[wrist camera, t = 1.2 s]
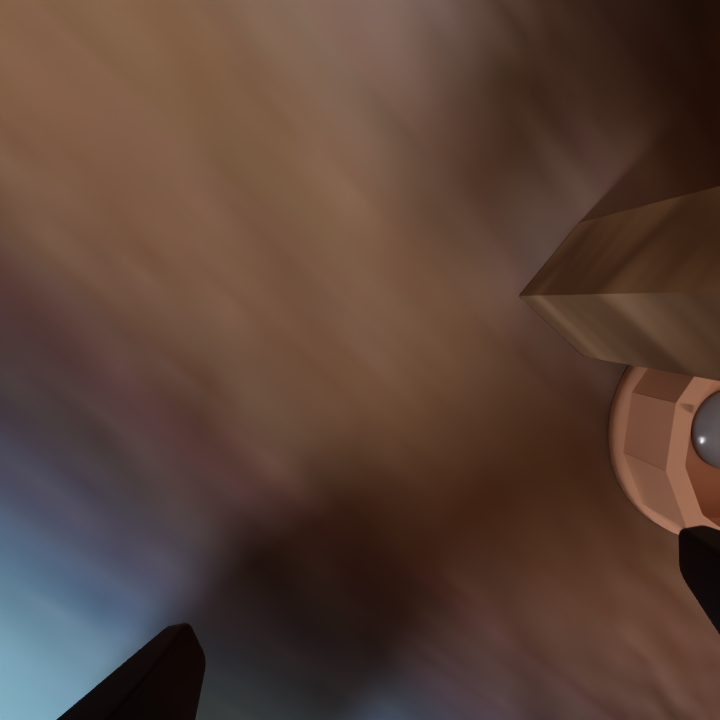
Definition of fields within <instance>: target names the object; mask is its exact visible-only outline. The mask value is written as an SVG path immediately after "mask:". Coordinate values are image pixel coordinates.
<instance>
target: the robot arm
mask: <svg viewBox="0 0 720 720" xmlns="http://www.w3.org/2000/svg"><path fill="white" fill-rule="evenodd" d="M679 566H680V571H681V573H682V576H683V578H684V580H685V582H686V584H687V585H688V587H689V588H690V590H691V591H692V593H693V594H694V596H695V597H696V599H697V600H698V602H699V604H700V605H701V607H702V608H703V610H704V611H705V613H706V614H707V616H708V617H709V619H710V620H711V622H712V624H713V625H714V627H715V628H716V630H717V631H718V633H719V634H720V530H718V529H715V528H712V527H709V526H705V525H699V526H693V527H688V528H683V529H682V530H681V531H680V532H679ZM204 672H205V655H204V652H203V650H202V648H201V646H200V644H199V641H198V639H197V637H196V635H195V633H194V631H193V629H192V627H191V626H190V625H189V624H187V623H183V624H177V625H172V626H168V627H167V628H165V629H164V630H163V631H161V632H160V633H159V634H158V635H157V636H155V637H154V638H153V639H152V640H151V641H149V642H148V643H147V644H146V645H145V646H144V647H142V648H141V649H140V650H139V651H138V652H136V653H135V654H134V655H133V656H132V657H130V658H129V659H128V660H127V661H126V662H125V663H123V664H122V665H121V666H120V667H119V668H117V669H116V670H115V671H114V672H113V673H111V674H110V675H109V676H108V677H107V678H105V679H104V680H103V681H102V682H101V683H100V684H98V685H97V686H96V687H95V688H94V689H92V690H91V691H90V692H89V693H88V694H86V695H85V696H84V697H83V698H82V699H81V700H79V701H78V702H77V703H76V704H75V705H73V706H72V707H71V708H70V709H69V710H67V711H66V712H65V713H64V714H63V715H61V716H60V717H59V718H58V719H57V720H195V718H196V713H197V708H198V703H199V698H200V692H201V687H202V682H203V677H204Z"/></svg>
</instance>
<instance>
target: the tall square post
mask: <svg viewBox="0 0 720 720" xmlns="http://www.w3.org/2000/svg"><path fill="white" fill-rule="evenodd" d="M519 297H520V298H521V299H523V300H524V301H525V302H526V303H527V304H528V305H529V306H530V307H531V308H532V309H533V310H534V311H535V312H536V313H537V314H538V315H540V316H541V317H542V318H543V319H544V320H545V321H546V322H547V323H548V324H549V325H550V326H551V327H552V328H553V329H554V330H556V331H557V332H558V333H559V334H560V335H561V336H562V337H563V338H564V339H565V340H566V341H567V342H568V343H569V344H570V345H571V346H573V347H574V348H575V349H576V350H577V351H578V352H579V353H580V354H581V355H582V356H583V357H588V358H594V359H599V360H605V361H610V362H616V363H622V364H627V365H633V366H638V367H644V368H649V369H655V370H661V371H666V372H672V373H677V374H683V375H689V376H694V377H700V378H705V379H711V380H716V381H720V186H718V187H714V188H710V189H706V190H702V191H698V192H695V193H691V194H687V195H683V196H679V197H675V198H671V199H667V200H664V201H660V202H656V203H652V204H648V205H644V206H640V207H637V208H633V209H629V210H625V211H621V212H617V213H613V214H610V215H606V216H602V217H598V218H594V219H590V220H586V221H582V222H579V223H578V225H577V226H576V227H575V228H574V230H573V231H572V232H571V233H570V234H569V236H568V237H567V238H566V239H565V240H564V242H563V243H562V244H561V245H560V247H559V248H558V249H557V250H556V251H555V253H554V254H553V255H552V256H551V257H550V259H549V260H548V261H547V262H546V263H545V265H544V266H543V267H542V268H541V270H540V271H539V272H538V273H537V274H536V276H535V277H534V278H533V279H532V280H531V282H530V283H529V284H528V285H527V287H526V288H525V289H524V290H523V291H522V293H521V294H520V295H519Z"/></svg>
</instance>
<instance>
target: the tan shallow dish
mask: <svg viewBox="0 0 720 720" xmlns="http://www.w3.org/2000/svg"><path fill="white" fill-rule="evenodd" d="M608 444H609V453H610V458H611V463H612V467H613V470H614V473H615V476H616V478H617V480H618V482H619V485H620V487H621V489H622V490H623V492H624V493H625V495H626V496H627V498H628V499H629V501H630V502H631V503H632V504H633V505H634V506H635V507H636V509H637V510H639V511H640V512H641V513H642V514H643V515H644V516H646V517H647V518H648V519H650V520H652V521H653V522H655V523H657V524H658V525H660V526H662V527H663V528H665V529H667V530H669V531H670V532H672V533H675V534H677V535H679V532H680V531H681V530H682V529H683V528H688V527H693V526H699V525H705V526H709V527H712V528H715V529H718V530H720V381H716V380H711V379H705V378H700V377H694V376H689V375H683V374H677V373H672V372H666V371H661V370H655V369H649V368H644V367H638V366H633V365H629V366H628V367H627V369H626V370H625V372H624V374H623V376H622V378H621V380H620V382H619V385H618V387H617V390H616V393H615V396H614V399H613V402H612V406H611V411H610V416H609V427H608Z"/></svg>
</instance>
